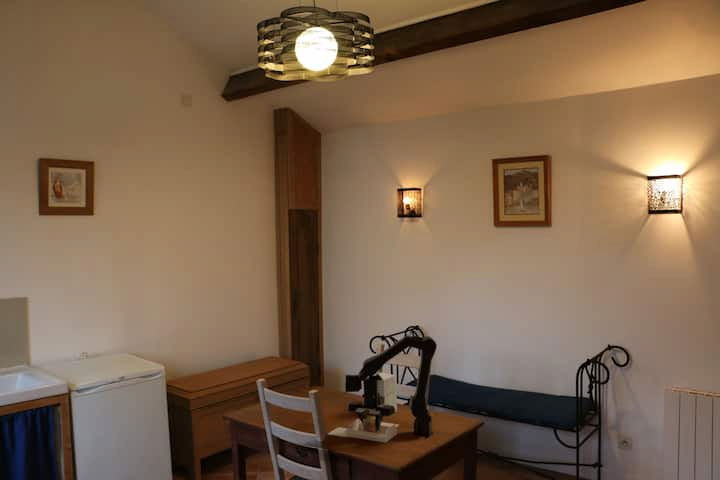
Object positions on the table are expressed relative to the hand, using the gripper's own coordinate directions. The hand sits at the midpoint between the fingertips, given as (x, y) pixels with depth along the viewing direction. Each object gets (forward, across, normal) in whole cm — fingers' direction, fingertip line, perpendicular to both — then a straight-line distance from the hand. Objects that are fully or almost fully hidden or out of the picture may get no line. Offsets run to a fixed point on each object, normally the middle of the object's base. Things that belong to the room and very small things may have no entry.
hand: (371, 429), depth 243 cm
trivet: (+3, +13, +2) cm, 13 cm away
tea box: (+2, 0, 0) cm, 2 cm away
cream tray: (+3, 0, 0) cm, 3 cm away
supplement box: (+3, +10, -30) cm, 32 cm away
